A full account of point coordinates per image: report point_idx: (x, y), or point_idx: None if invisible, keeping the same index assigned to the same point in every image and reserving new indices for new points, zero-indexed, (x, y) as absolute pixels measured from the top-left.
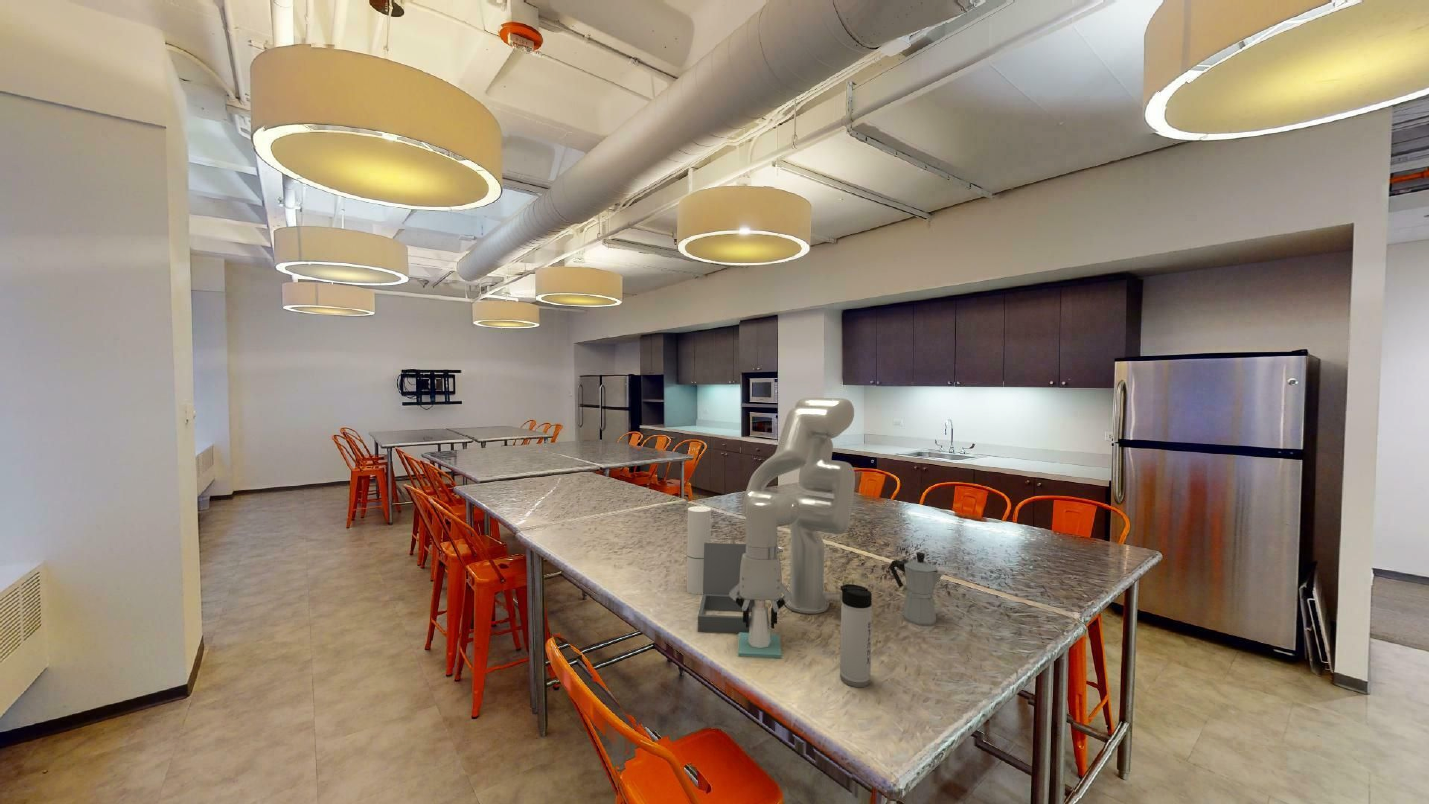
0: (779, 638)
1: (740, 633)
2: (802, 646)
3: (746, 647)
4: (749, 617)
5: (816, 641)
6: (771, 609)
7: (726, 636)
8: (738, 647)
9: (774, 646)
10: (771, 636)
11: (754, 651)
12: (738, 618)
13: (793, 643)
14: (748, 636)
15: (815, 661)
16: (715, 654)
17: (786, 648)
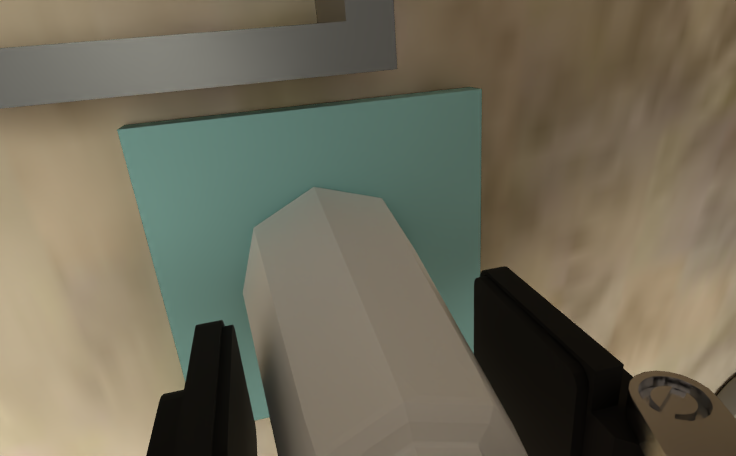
0: (480, 162)
1: (138, 147)
2: (608, 183)
3: (243, 354)
4: (199, 60)
5: (708, 92)
6: (576, 425)
7: (5, 164)
8: (182, 370)
9: (439, 284)
10: (420, 141)
11: None
12: (51, 101)
13: (560, 156)
14: (226, 187)
15: (638, 326)
16: (27, 442)
17: (507, 234)
